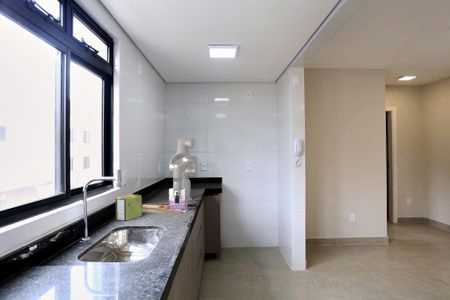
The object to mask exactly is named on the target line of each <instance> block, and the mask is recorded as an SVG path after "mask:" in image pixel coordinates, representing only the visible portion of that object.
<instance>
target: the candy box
mask: <svg viewBox="0 0 450 300" xmlns="http://www.w3.org/2000/svg"><path fill="white" fill-rule="evenodd" d="M177 194H178V193H177ZM177 196H178V195H177ZM178 198H179V203H175V195H174V194H173V187H172V188H169V189H168V205H169V209H183V210H184V209H188V201H187V188H181V189H180V193H179V197H178Z"/></svg>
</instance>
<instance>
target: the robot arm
mask: <svg viewBox="0 0 450 300" xmlns="http://www.w3.org/2000/svg"><path fill="white" fill-rule="evenodd" d="M196 143H197V142H196V139H195V138H194V137H181V138H180V137H179V138H177V140H176V144H177V145H176V152H175V154H174V155H173V156H172V157H171V158H170V160H169V164H168V171H169V173H172V178H173V179H172V182H173V185H172V186H173V187H172V188H173V194H174V195H175V203H179V198H178V197H179V193H180V189H181V188H187V202H188V201H189V202H190V201H192V200H193V198H192V197H191V180H190V179H189V178H196V177H197V176H198V174H199V173H198V170H199V165H198V157H197V156H196V155H190V154H191V153H190V151H191V150H192V149H194V148H195V147H196V145H197V144H196ZM178 160H180V163H176V161H178ZM187 166H188V167H187ZM177 193H178V194H177ZM177 195H178V196H177Z"/></svg>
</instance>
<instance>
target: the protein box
mask: <svg viewBox="0 0 450 300" xmlns="http://www.w3.org/2000/svg"><path fill="white" fill-rule="evenodd" d="M142 205H143V203H142V195H140V194H128V195H127V194H125V195H122V196H119V197H115V220H117V221H123V220H125V221H126V220H128V221H130V220H129V219H131V220H134V219H136V218H139V217H142V216H143V215H142V214H143V212H142ZM126 222H127V221H126Z"/></svg>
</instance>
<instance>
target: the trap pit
mask: <svg viewBox="0 0 450 300" xmlns="http://www.w3.org/2000/svg"><path fill="white" fill-rule="evenodd" d="M160 205H161V206H159V207H158V208H156V209H169V204H160Z"/></svg>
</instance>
